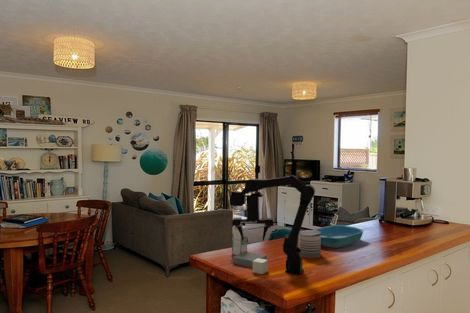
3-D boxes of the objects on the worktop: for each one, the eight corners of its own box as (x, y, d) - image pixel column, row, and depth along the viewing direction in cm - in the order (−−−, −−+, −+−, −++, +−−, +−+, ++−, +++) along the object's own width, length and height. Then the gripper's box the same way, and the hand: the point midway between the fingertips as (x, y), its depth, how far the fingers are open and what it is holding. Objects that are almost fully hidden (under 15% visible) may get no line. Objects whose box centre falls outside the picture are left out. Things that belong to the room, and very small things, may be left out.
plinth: (266, 261, 173) (266, 254, 173) (255, 267, 162) (255, 261, 162) (245, 257, 179) (245, 251, 179) (232, 263, 168) (232, 257, 168)
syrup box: (238, 251, 188) (238, 224, 188) (247, 254, 184) (247, 226, 184) (231, 254, 184) (231, 226, 183) (240, 256, 180) (240, 227, 180)
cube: (267, 271, 159) (267, 259, 158) (262, 274, 154) (262, 262, 154) (257, 269, 161) (257, 258, 161) (252, 272, 157) (252, 261, 157)
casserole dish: (335, 252, 190) (336, 238, 190) (302, 243, 207) (302, 231, 207) (369, 241, 215) (369, 229, 215) (337, 234, 232) (337, 223, 232)
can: (319, 259, 177) (319, 235, 177) (296, 256, 181) (296, 233, 181) (321, 252, 188) (322, 230, 188) (300, 250, 192) (300, 228, 192)
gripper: (273, 204, 170) (273, 236, 170) (234, 204, 172) (234, 236, 172) (273, 207, 159) (273, 242, 159) (231, 207, 161) (232, 241, 161)
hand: (253, 240), depth 163 cm, fingers open, 9 cm apart
